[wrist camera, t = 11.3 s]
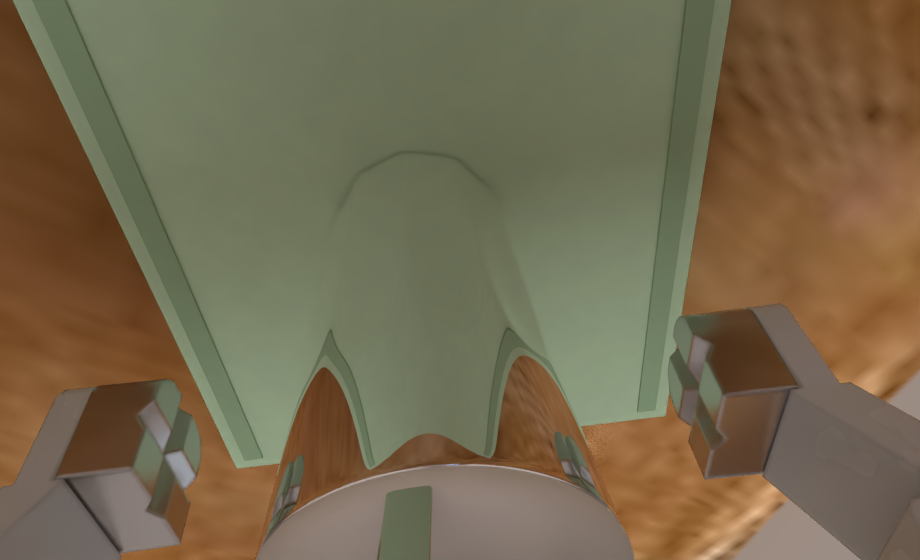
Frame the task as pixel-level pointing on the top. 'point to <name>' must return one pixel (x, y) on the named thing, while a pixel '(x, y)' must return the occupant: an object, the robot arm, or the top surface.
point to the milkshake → (432, 394)
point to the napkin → (381, 137)
